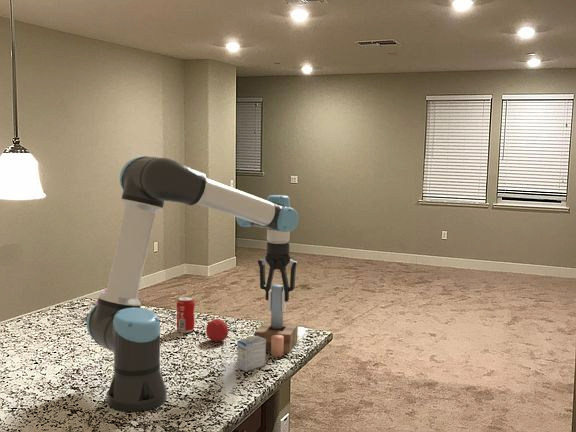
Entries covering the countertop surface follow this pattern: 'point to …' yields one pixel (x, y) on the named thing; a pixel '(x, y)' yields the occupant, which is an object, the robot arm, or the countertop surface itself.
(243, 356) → the medicine box
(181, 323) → the beverage can
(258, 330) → the hole block
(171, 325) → the countertop surface
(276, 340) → the short pin
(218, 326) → the tomato
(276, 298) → the long pin
